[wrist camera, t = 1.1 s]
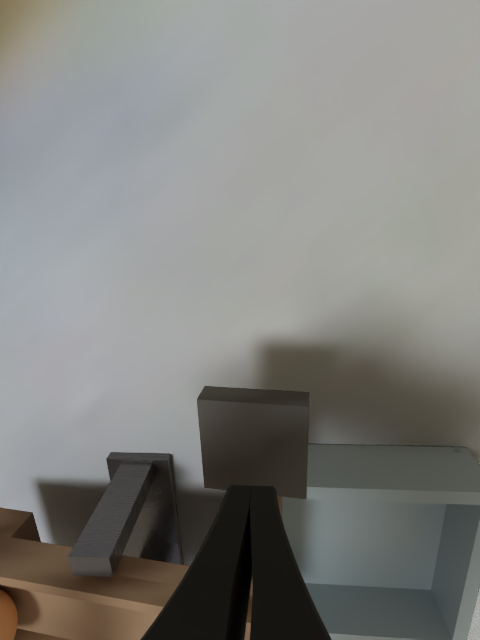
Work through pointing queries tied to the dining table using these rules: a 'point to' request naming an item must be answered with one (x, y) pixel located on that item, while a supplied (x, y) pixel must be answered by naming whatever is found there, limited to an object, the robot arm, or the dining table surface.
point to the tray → (389, 540)
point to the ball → (7, 617)
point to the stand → (131, 517)
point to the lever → (143, 574)
